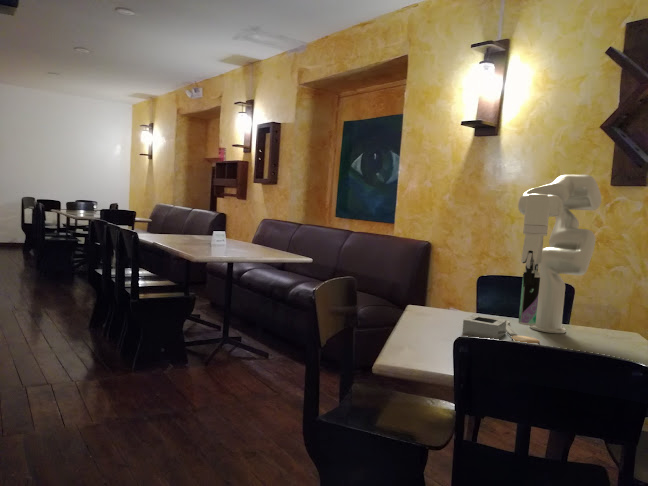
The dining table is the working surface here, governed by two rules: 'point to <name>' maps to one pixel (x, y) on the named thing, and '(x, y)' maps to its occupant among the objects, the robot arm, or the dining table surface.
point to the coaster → (525, 339)
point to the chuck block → (484, 326)
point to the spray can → (529, 301)
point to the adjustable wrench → (509, 329)
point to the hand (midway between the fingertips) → (530, 283)
